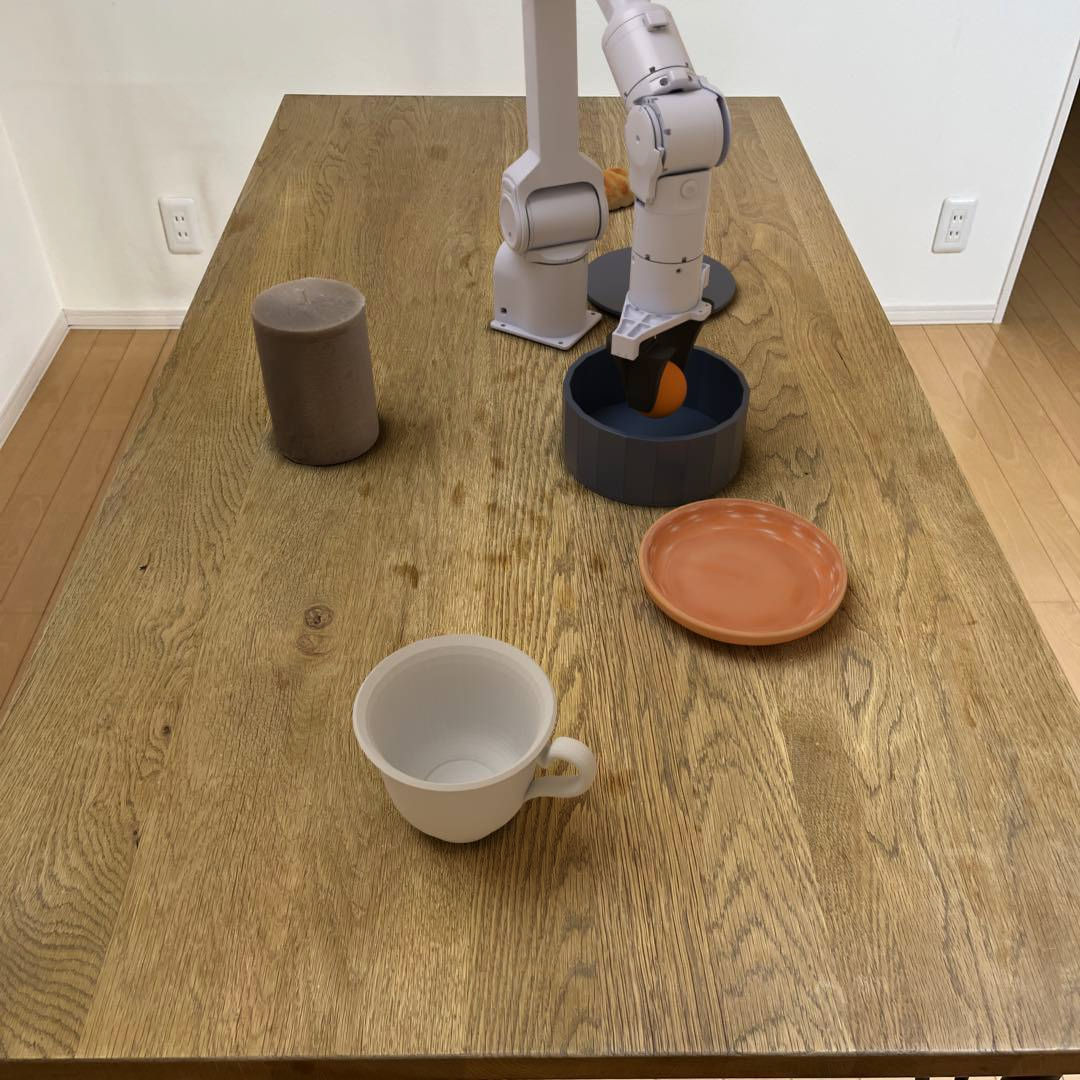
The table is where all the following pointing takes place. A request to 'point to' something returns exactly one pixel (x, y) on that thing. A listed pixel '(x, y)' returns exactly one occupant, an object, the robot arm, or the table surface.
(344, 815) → the table surface
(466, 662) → the teacup
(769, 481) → the table surface
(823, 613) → the saucer
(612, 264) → the lid
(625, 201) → the pastry
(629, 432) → the pot
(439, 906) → the table surface
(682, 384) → the orange
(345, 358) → the pillar candle
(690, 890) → the table surface
